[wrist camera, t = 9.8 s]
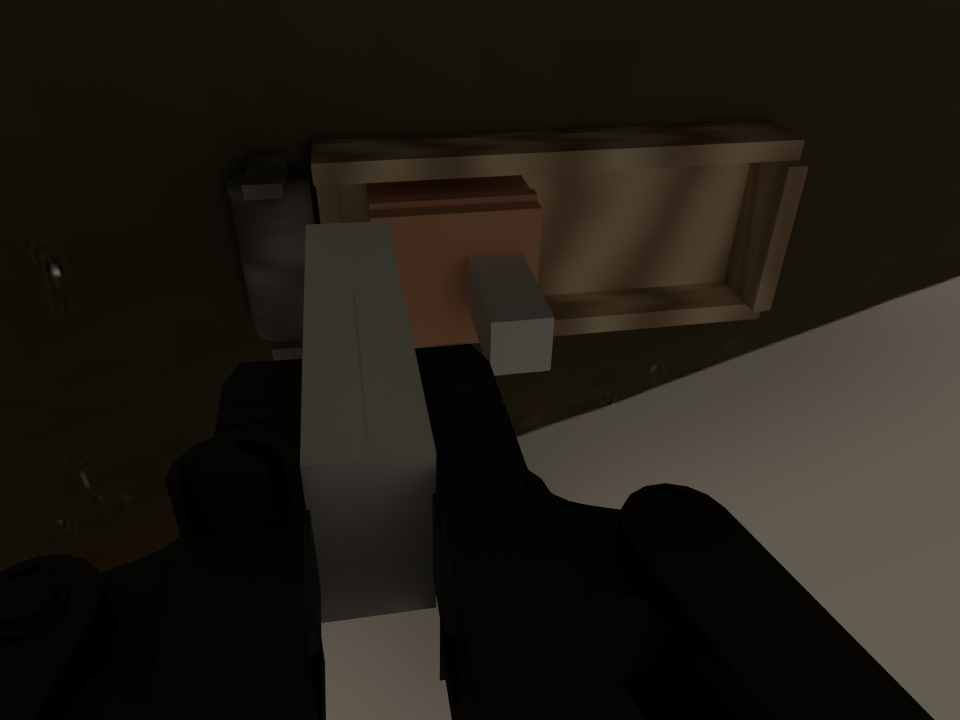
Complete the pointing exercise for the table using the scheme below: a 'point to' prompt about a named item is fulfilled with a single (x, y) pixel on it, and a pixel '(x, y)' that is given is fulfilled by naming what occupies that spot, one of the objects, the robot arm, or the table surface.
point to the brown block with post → (470, 265)
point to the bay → (558, 217)
